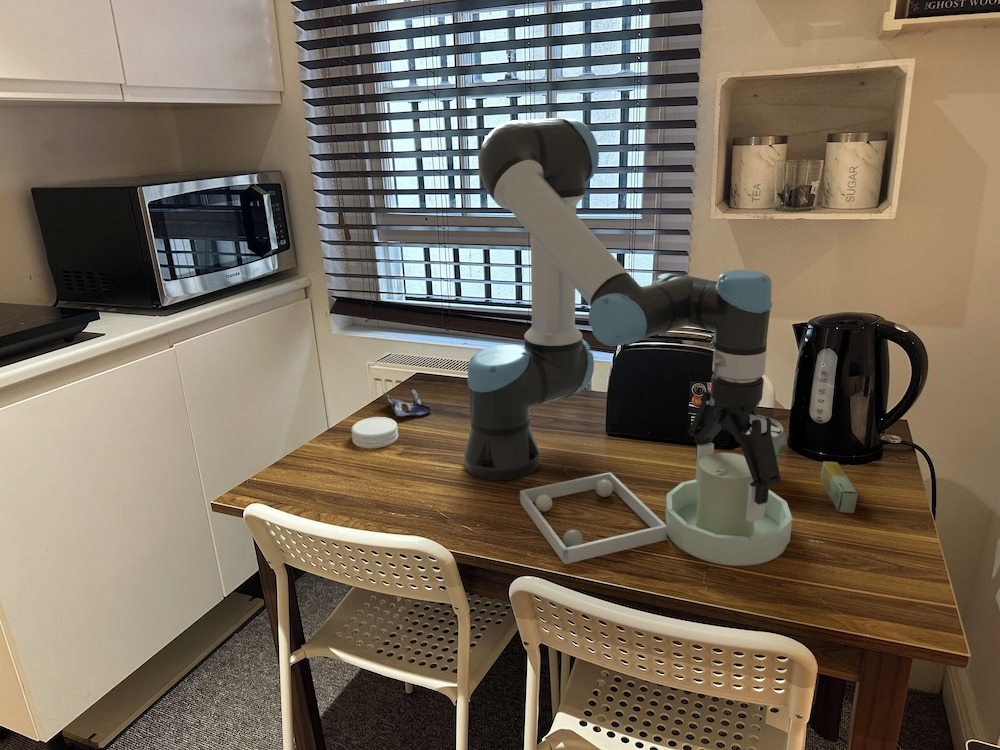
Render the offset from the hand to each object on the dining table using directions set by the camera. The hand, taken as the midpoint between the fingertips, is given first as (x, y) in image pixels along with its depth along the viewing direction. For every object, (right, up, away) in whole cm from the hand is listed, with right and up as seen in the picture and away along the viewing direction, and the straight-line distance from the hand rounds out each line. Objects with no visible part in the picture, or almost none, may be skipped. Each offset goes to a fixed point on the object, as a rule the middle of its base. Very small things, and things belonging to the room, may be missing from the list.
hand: (727, 498), depth 114 cm
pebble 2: (-25, -8, -1) cm, 26 cm away
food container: (+13, +1, +19) cm, 23 cm away
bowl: (0, -6, +2) cm, 6 cm away
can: (0, -5, +2) cm, 6 cm away
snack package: (-59, +11, +56) cm, 82 cm away
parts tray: (-21, -5, +7) cm, 23 cm away
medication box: (+23, -2, +12) cm, 26 cm away
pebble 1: (-29, -4, +11) cm, 31 cm away
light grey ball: (-18, -2, +15) cm, 23 cm away
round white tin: (-64, +5, +42) cm, 77 cm away
